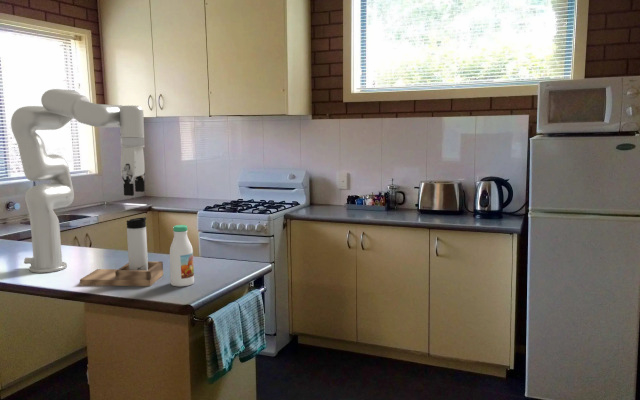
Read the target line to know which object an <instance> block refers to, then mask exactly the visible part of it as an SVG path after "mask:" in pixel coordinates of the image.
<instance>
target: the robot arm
mask: <svg viewBox="0 0 640 400" xmlns="http://www.w3.org/2000/svg"><path fill="white" fill-rule="evenodd" d="M40 102H41V104H42V106H39V105H38V106H37V105H27V106H23V107H19V108H17V109H16V110H15V111H14V112H13V114H12V116H11V119H10V128H11V132H12V134H13V137H14V139H15V141H16V144H17V146H18V147H17V148H18V151H19V156H20V160H21V165H22V169H23V173H24V177H25V178H26V179H27V180H28V181H30V182H44V181H50V183H45V184H44V183H43V184H38V185H33V186H32V187H30V188H29V189H28V190H27V191H26V193H25V194H24V195H25V196H24V199H25V200H24V201H25V203H26V207H27V211H28V215H29V223H30V233H31V234H30V235H31V246H32V257H25V258H24V260H23V264H26V265H28V264H29V265H30V266H29V268H28V269H29V272H31V273H37V274H38V273H39V274H41V273H42V274H43V273H53V272H58V271H61V270H64V269H66V268H67V267H68V264H67V262H65V261H63V256H62V255H63V253H62V245H61V244H62V243H61V242H62V241H61V227H60V220H59V217H58V216H57V214H56V213H55V211H54V210H55V209H56V210H57V209H60V208H65V207H68V206H70V205H71V204H72V203H73V202H74V199H75V190H74V186H73V182H72V177H71V172H70V171H71V170H70V168H69V165H68V163H67V161H66V160H65V158H64V157H63V156H61V155H59V154H54V153H53V154H47V151H46V147H45V146H46V145H45V143H44V141H43V138H42V137H41V136H40V135H39V134H38V133H37V132H36V131H47V130H48V131H50V130H51V131H53V130H60V129H61V128H63V127H65V126H66V125H67V124H68V123H69V122H71V121H72V120H73V119H75V121H76V122H78V123H81V124H84V125H88V126H90V127H94V128H119V129H120V130H119V133H120V147H121V151H120V152H121V153H120V176H121V177H122V184H123V195H124V196H129V197H130V196H131V197H132V196H134V195H135V192H138V193H140V192H141V193H143V192H145V191H146V187H145V186H146V185H145V184H146V183H145V180H146V178H145V177H146V176H145V175H146V172H145V169H146V167H145V166H146V165H145V154H144V153H145V151H144V148H146V147H145V146H146V145H145V124H144V123H145V119H144V108H143V107H142V106H141V105H122V104H101V103H93V102H90V100H89V98H88V97H86V96H85V95H82V94H81V93H79V92H78V91H77V90H72V89H61V88H60V89H59V88H52V89H48V90H46V91H45V92H44V93H43V94H42V96H41V101H40ZM134 178H135V179H134ZM133 182H134V183H133Z"/></svg>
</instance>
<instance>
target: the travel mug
mask: <svg viewBox="0 0 640 400" xmlns="http://www.w3.org/2000/svg"><path fill="white" fill-rule="evenodd" d="M146 220H147V217H146V216H145V217H135V218H130V219H129V220H126V239H127V240H126V242H127V253H128V254H127V257H128V258H127V259H128V263H129V270H146V271H148V261H149V259H148V242H147V241H148V240H147V239H148V238H147V225H146V223H147V222H146Z"/></svg>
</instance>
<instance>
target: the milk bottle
mask: <svg viewBox="0 0 640 400" xmlns="http://www.w3.org/2000/svg"><path fill="white" fill-rule="evenodd" d="M172 229H173V230H172V231H173V240H172V241H171V244H170V248H169V271H170V273H169V274H170V285H171V286H173V287H187V286H191V285H194V283H195V269H194V268H195V267H194V249H193V245H192V243H191V242H190V239H189V236H188V225H185V224H177V225H174V226H172Z"/></svg>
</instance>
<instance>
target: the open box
mask: <svg viewBox="0 0 640 400" xmlns="http://www.w3.org/2000/svg"><path fill="white" fill-rule="evenodd" d="M163 263H164V261H149V260H148V271H146V270H129V262H127V263H126V264H124V265H122V266H121V267H119V268H118V269H117V268H115V269H113V268H110V269H109V268H104V269H102V268H99V269H98V268H97V269H95V270H94V271H91V272H90V273H88V274H87V275H85V276H84V277H82V278H80V279H79V285H80V286H106V287H107V286H108V287H110V286H115V287H117V286H118V287H120V286H121V287H122V286H123V287H128V286H129V287H134V286H135V287H151V286H152V285H153V284H154V283H156V282H158V280H160V279H161V278H162V277H163V276H164V266H163V265H164V264H163Z"/></svg>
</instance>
